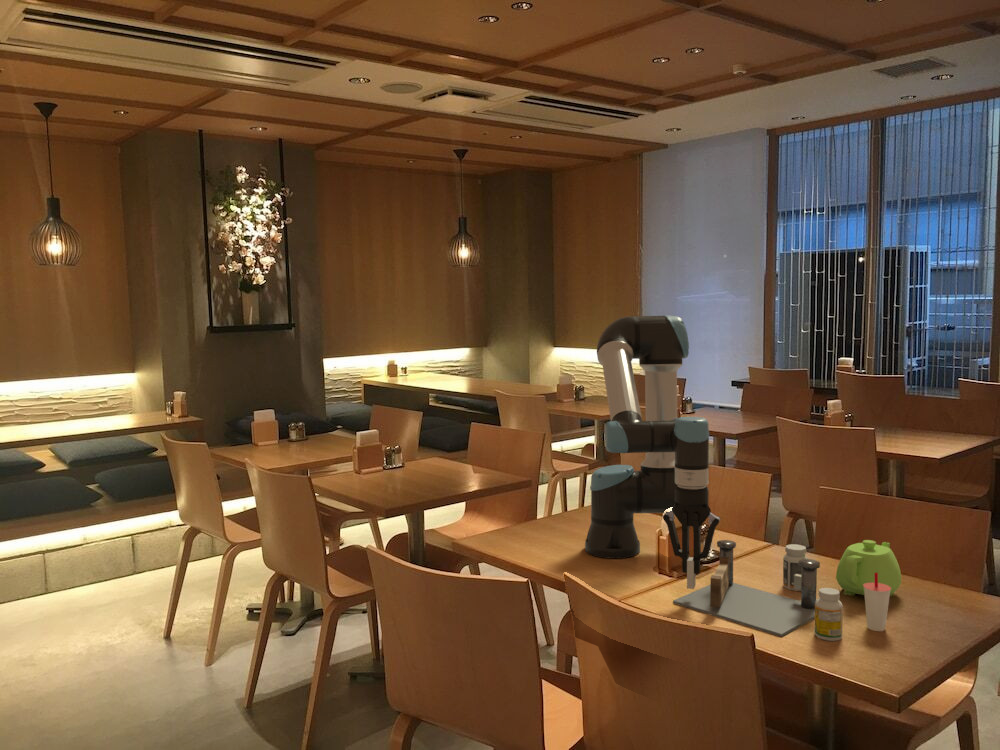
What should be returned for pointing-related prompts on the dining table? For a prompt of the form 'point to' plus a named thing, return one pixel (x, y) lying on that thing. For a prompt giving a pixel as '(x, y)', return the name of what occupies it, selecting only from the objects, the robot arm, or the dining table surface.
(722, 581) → the wooden block
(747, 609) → the base board
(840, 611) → the supplement bottle
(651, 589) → the dining table surface
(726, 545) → the hinge post
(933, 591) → the dining table surface
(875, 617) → the cup
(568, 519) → the dining table surface
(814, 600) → the post
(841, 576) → the teapot
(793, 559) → the pill bottle
